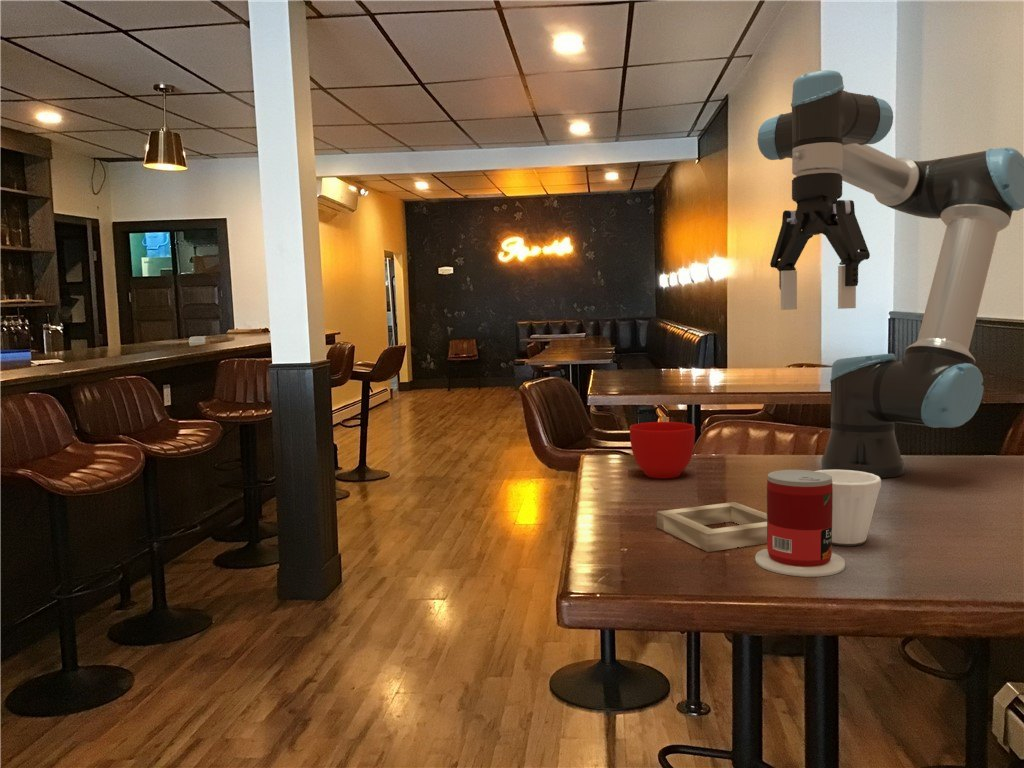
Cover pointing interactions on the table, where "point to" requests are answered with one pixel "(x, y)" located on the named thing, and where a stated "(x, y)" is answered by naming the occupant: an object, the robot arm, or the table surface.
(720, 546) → the holder
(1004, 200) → the robot arm
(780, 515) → the canned food
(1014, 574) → the table surface
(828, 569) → the coaster
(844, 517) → the cup
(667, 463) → the ceramic cup
